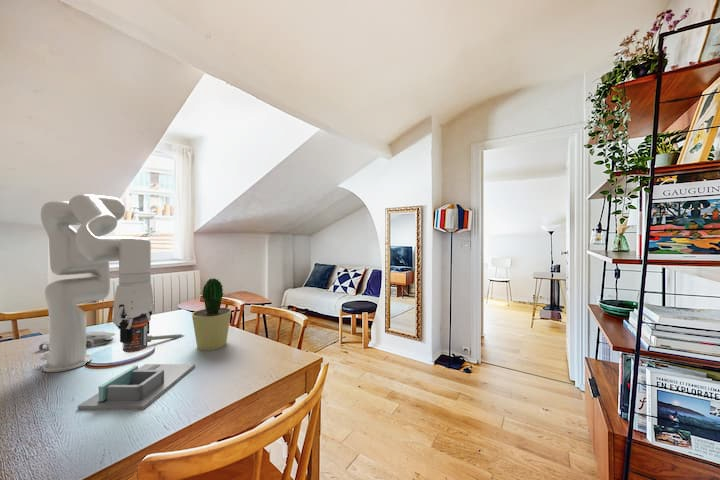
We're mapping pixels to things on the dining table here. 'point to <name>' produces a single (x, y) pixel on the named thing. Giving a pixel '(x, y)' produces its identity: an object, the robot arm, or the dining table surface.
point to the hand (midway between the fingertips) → (135, 337)
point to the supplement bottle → (137, 334)
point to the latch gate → (116, 382)
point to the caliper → (163, 337)
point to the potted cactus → (211, 318)
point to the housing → (140, 387)
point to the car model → (89, 339)
